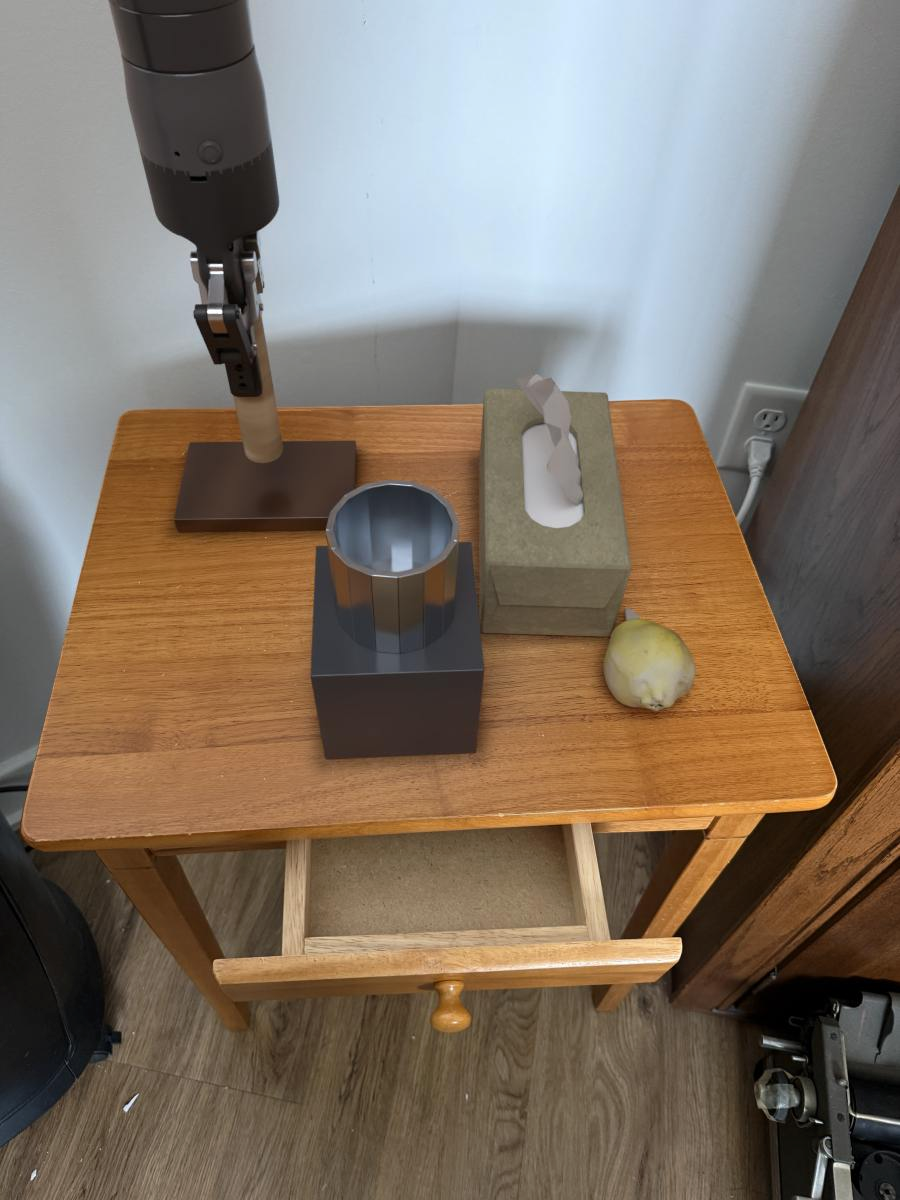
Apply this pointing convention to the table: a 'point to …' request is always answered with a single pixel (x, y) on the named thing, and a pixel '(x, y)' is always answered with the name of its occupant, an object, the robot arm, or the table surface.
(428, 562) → the tin
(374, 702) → the stand
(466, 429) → the table surface
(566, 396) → the tissue box
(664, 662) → the fruit
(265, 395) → the stick
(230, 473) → the board
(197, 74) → the robot arm
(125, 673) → the table surface
